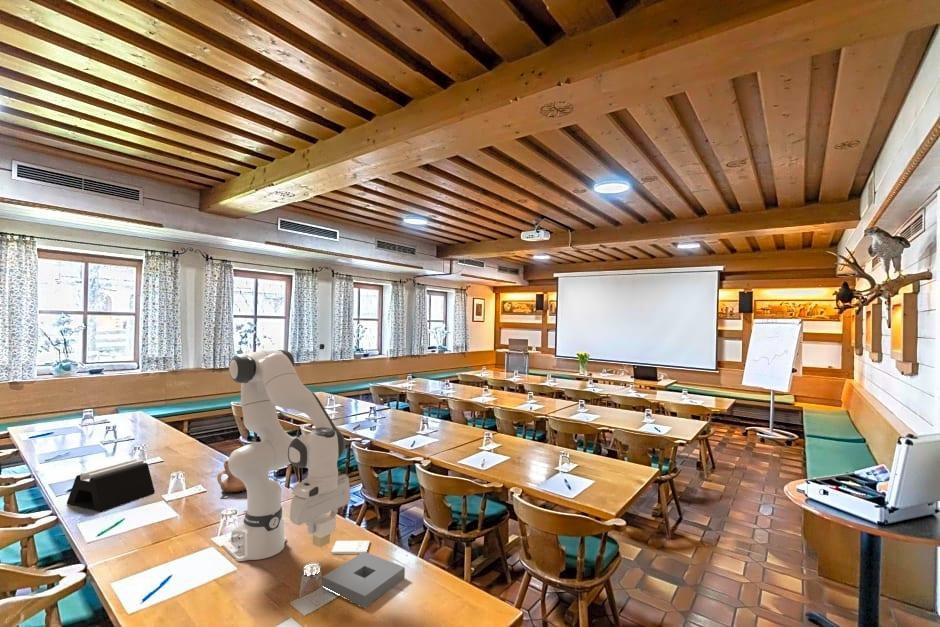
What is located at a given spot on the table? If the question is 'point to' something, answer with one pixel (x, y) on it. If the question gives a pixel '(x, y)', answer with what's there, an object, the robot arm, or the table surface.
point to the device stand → (111, 486)
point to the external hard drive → (350, 547)
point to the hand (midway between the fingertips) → (321, 528)
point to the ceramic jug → (230, 481)
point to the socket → (361, 589)
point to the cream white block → (323, 529)
